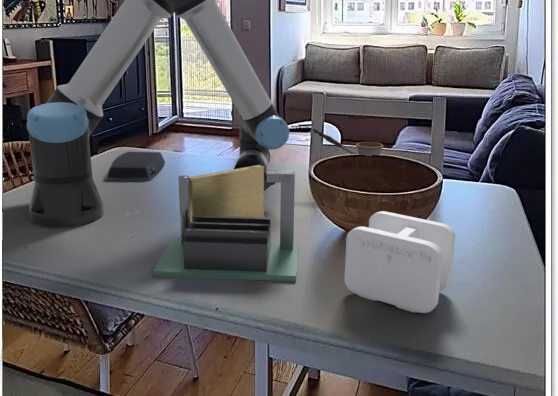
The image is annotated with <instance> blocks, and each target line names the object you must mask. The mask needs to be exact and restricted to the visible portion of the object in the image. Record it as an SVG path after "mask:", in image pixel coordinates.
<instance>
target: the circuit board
mask: <svg viewBox="0 0 558 396" xmlns="http://www.w3.org/2000/svg"><path fill="white" fill-rule="evenodd" d="M298 255H299V243H293V250H280V242H279V243H278V242H277V243H276V242H271V251H270V256H269V262H268V268H267V272H253V271H223V270H194V269H184V250H183V245H182V244H181V239H172V240H171V241H170V243H169V245H168V246H167V248H166V249H165V251H164V253H163V254H162V256H161V257H160V259H159V261H158V263H157V264H156V266H155V268H154V270H153V277H157V278H159V277H160V278H162V277H163V278H184V279H185V278H186V279H187V278H188V279H189V278H190V279H214V280H215V279H217V280H218V279H219V280H244V281H245V280H247V281H248V280H249V281H269V282H270V281H272V282H273V281H274V282H297V277H298V276H297V273H298V258H299V257H298Z"/></svg>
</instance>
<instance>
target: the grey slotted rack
mask: <svg viewBox="0 0 558 396" xmlns="http://www.w3.org/2000/svg"><path fill="white" fill-rule="evenodd" d="M295 171H296V170H290V169H275V168H273V169H271V168H267V171H266V172H267V182H272V183H275V184H276V183H279V184H280V212H279V213H280V216H279V218H280V219H279V223H280V224H279V225H280V227H279V243H280V250H293V244H294V239H295V238H294V236H295V235H294V234H295V233H294V231H295V230H294V229H295V227H294V226H295V189H296V188H295V187H296V186H295V185H296V172H295ZM189 177H190V176H189V175H178V196H179V197H178V199H179V220H180V222H179V223H180V240H181V244H182V245H183V250H184V269H194V270H223V271H253V272H267V268H268V262H269V256H270V251H271V243H272V221H271V220H272V219H271V217H264V218H259V217H225V216H192V222H190V202H189Z"/></svg>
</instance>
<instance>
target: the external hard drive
mask: <svg viewBox="0 0 558 396" xmlns="http://www.w3.org/2000/svg"><path fill="white" fill-rule="evenodd" d="M164 164H166V161H165V159H164V156H163V154H162V153H161V152H160V151H158V152H157V151H153V152H151V151H125V152H123V153H121V154H119V155H118V156H116V157H115V158H114V159H113V160H112V161H111V163H110V165H109V168H108V170H107V174H106V176H105V180H106V181H134V180H138V182H139V180H141V181H142V180H143V182H145V181H146V182H147V181H152V180H153V179H154V178H155V177H156V176H157V175H159V174H160V172H161V171H162V170H163V168H164V167H165V165H164Z"/></svg>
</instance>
